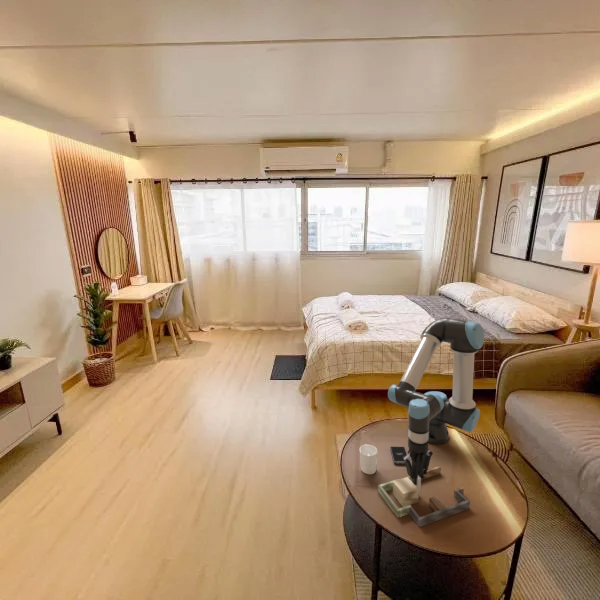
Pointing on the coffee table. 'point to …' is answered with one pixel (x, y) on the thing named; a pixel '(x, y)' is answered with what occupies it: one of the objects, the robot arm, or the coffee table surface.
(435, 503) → the channel
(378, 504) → the coffee table surface
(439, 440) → the robot arm
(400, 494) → the block
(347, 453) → the coffee table surface
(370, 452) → the white cup
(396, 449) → the external hard drive
